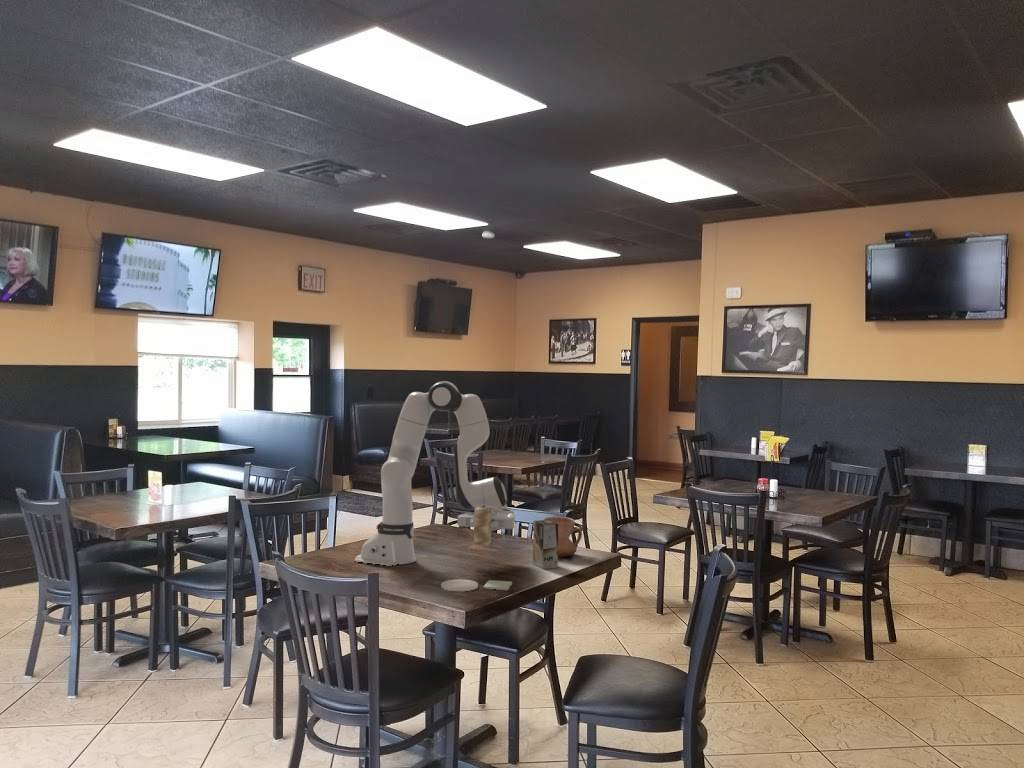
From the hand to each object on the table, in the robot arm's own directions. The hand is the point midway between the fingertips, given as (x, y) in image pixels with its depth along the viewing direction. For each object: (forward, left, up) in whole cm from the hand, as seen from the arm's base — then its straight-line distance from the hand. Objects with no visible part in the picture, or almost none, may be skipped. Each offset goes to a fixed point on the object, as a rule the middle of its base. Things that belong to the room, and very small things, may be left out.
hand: (481, 525), depth 262 cm
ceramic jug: (+22, +40, -18) cm, 49 cm away
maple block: (0, +1, -6) cm, 7 cm away
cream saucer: (-4, -14, -18) cm, 23 cm away
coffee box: (+19, +22, -18) cm, 34 cm away
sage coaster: (+8, -10, -18) cm, 22 cm away
